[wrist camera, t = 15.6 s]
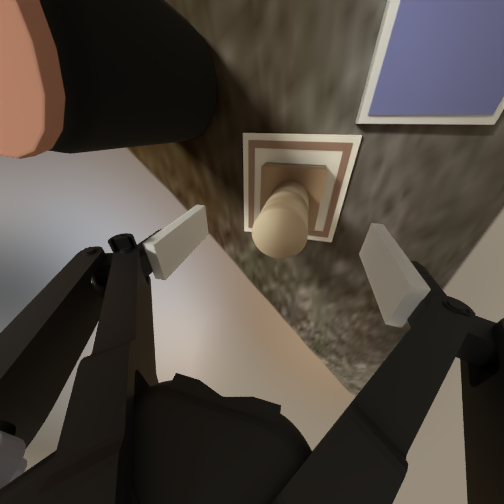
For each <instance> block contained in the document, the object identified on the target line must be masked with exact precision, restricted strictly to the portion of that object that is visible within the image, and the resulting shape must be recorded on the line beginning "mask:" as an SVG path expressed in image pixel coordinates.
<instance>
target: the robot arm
mask: <svg viewBox="0 0 504 504" xmlns="http://www.w3.org/2000/svg"><path fill="white" fill-rule="evenodd" d="M208 234H209V232H208V225H207V218H206V210H205V206H204V205H196V206H194V207H193V208H191V209H190V210H189V211H187V212H186V213H184V214H183V215H182V216H180V217H179V218H177V219H176V220H175V221H173V222H172V223H170V224H169V225H167V226H166V227H165V228H163V229H160V230H158V231H156V232H155V233H153V235H151V236H149V238H146V239H145V240H144V241H142V242H141V243H139V244H138V245H137V244H136V242H135V239H134V237H133V235H132V234H127V233H126V234H119V235H116V236H114V237H112V238H110V239H109V240H108V243H109V244H110V247H111V249H112V251H113V253H105V252H104V250H103V249H102V247H89V248H85V249H84V250H82V251H80V252H79V253H78V254H76V255H75V257H74V258H73V259H72V260H71V261H70V262H69V263H68V264H67V265H66V266H65V267H64V268H63V269H62V270H61V271H60V272H59V273H58V274H57V275H56V276H55V277H54V278H53V279H52V280H51V282H49V283H48V285H46V287H45V288H44V289H43V290H42V291H41V292H40V293H39V294H38V295H37V296H36V297H35V298H34V299H33V300H32V301H31V302H30V303H29V304H28V305H27V306H26V307H25V308H24V309H23V310H22V312H20V314H19V315H17V317H16V318H15V319H14V320H13V321H12V322H11V323H10V324H9V325H8V326H7V327H6V328H5V329H4V330H3V331H2V332H1V333H0V504H392V503H393V501H394V499H395V497H396V495H397V493H398V491H399V488H400V486H401V484H402V482H403V480H404V478H405V475H406V472H407V469H408V463H407V461H406V455H407V453H408V450H409V449H410V447H411V445H412V443H413V441H414V438H415V437H416V434H417V433H418V431H419V429H420V427H421V425H422V423H423V421H424V418H425V416H426V415H427V413H428V410H429V409H430V407H431V405H432V403H433V401H434V399H435V397H436V395H437V393H438V391H439V389H440V387H441V384H442V383H443V381H444V379H445V377H446V375H447V373H448V371H449V369H450V367H451V365H452V363H453V360H454V359H455V357H457V358H460V360H461V382H462V401H463V421H464V440H465V460H466V480H467V500H468V504H504V318H503V319H501V320H500V321H499V322H498V323H495V322H492V321H489V320H486V319H483V318H480V317H478V316H475V313H474V312H473V310H472V309H471V308H470V307H469V306H467V305H466V304H464V303H463V302H461V301H459V300H457V299H455V298H452V297H449V296H447V295H446V294H445V293H444V291H443V290H442V289H441V288H440V286H439V285H438V284H437V283H436V281H435V280H433V278H432V276H431V275H429V273H428V271H427V270H426V269H425V268H424V267H423V266H422V265H420V264H419V263H417V262H415V261H410V260H409V259H408V257H407V256H406V255H405V253H404V252H403V251H402V249H401V248H400V246H399V245H398V244H397V242H396V241H395V240H394V238H393V237H392V235H391V234H390V233H389V231H388V230H387V229H386V227H385V226H384V225H383V224H377V223H371V225H370V228H369V230H368V233H367V235H366V238H365V240H364V243H363V245H362V248H361V250H360V253H359V256H360V258H361V261H362V264H363V266H364V269H365V272H366V274H367V277H368V280H369V282H370V285H371V288H372V290H373V293H374V296H375V298H376V301H377V304H378V306H379V309H380V312H381V314H382V317H383V320H384V322H385V324H386V325H391V326H396V327H401V328H402V327H403V326H404V324H405V323H406V322H407V320H408V322H409V324H410V326H411V328H410V329H409V331H408V332H407V333H406V334H405V336H404V337H403V338H402V339H401V341H400V342H399V343H398V344H397V346H396V347H395V348H394V350H393V351H392V352H391V353H390V355H389V356H388V357H387V358H386V360H385V361H384V362H383V363H382V365H381V366H380V367H379V368H378V370H377V371H376V372H375V373H374V375H373V376H372V377H371V378H370V380H369V381H368V382H367V383H366V385H365V386H364V387H363V388H362V390H361V391H360V392H359V394H358V395H357V396H356V397H355V399H354V400H353V401H352V402H351V404H350V405H349V406H348V407H347V409H346V410H345V411H344V413H343V414H342V415H341V416H340V417H339V419H338V420H337V421H336V423H335V424H334V425H333V426H332V428H331V429H330V430H329V431H328V432H327V434H326V435H325V436H324V438H323V439H322V440H321V441H320V443H319V444H318V445H317V446H316V448H315V449H314V450H313V451H311V449H310V447H309V445H308V443H307V442H306V440H305V438H304V437H303V436H302V434H301V433H300V432H299V430H298V429H297V428H296V427H295V426H294V425H293V423H291V422H290V421H289V420H288V419H287V418H286V417H285V416H283V415H282V414H280V410H281V405H278V404H274V403H271V402H268V401H265V400H262V399H258V398H255V397H223V396H221V395H219V394H218V393H216V392H215V391H214V390H212V389H211V388H210V387H208V386H207V385H205V384H204V383H203V382H201V381H200V380H197V379H194V378H191V377H188V376H184V375H181V374H178V373H176V374H175V376H174V378H173V380H172V381H165V382H161V383H158V379H157V375H156V364H155V347H154V331H153V315H152V314H153V313H152V296H151V279H150V277H149V274H151V273H152V272H153V273H154V276H155V278H157V279H162V280H166V279H167V278H168V277H169V276H170V275H171V274H172V273H173V271H175V269H176V268H177V267H178V266H179V265H180V264H181V263H182V262H183V261H184V260H185V259H186V258H187V257H188V255H189V254H190V253H191V252H192V251H193V250H194V249H195V248H196V247H197V246H198V245H199V244H200V242H201V241H202V240H203V239H204V238H205V237H206V236H207V235H208ZM91 281H92V283H91ZM98 321H99V323H98ZM97 323H98V328H97V332H96V337H95V342H94V346H93V351H92V354H91V355H90V356H87V357H84V358H83V359H82V360H81V361H80V364H79V366H78V369H77V373H76V377H75V381H74V385H73V389H72V393H71V397H70V400H69V404H68V408H67V412H66V416H65V420H64V423H63V427H62V431H61V435H60V439H59V443H58V447H57V450H56V451H55V452H53V453H52V454H50V455H49V456H47V457H46V458H45V459H43V460H41V461H40V462H39V463H37V464H36V465H34V466H33V467H31V468H30V469H29V470H27V471H26V472H24V471H25V469H26V466H27V460H26V459H24V458H23V456H24V453H25V449H26V448H27V447H28V445H29V444H30V443H31V441H32V440H33V438H34V437H35V435H36V434H37V432H38V431H39V429H40V428H41V426H42V425H43V423H44V422H45V420H46V418H47V417H48V415H49V413H50V411H51V410H52V408H53V406H54V404H55V402H56V401H57V399H58V397H59V395H60V393H61V391H62V389H63V387H64V386H65V384H66V382H67V380H68V378H69V376H70V374H71V372H72V370H73V368H74V367H75V365H76V363H77V361H78V359H79V357H80V355H81V353H82V351H83V350H84V348H85V346H86V344H87V342H88V340H89V338H90V336H91V335H92V333H93V331H94V328H95V327H96V325H97Z"/></svg>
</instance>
